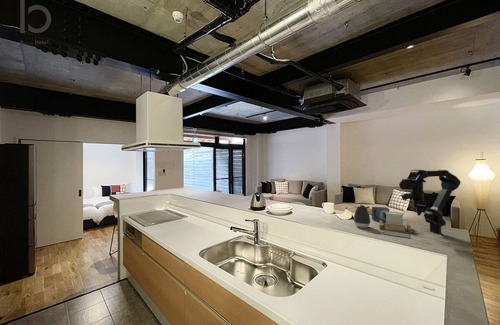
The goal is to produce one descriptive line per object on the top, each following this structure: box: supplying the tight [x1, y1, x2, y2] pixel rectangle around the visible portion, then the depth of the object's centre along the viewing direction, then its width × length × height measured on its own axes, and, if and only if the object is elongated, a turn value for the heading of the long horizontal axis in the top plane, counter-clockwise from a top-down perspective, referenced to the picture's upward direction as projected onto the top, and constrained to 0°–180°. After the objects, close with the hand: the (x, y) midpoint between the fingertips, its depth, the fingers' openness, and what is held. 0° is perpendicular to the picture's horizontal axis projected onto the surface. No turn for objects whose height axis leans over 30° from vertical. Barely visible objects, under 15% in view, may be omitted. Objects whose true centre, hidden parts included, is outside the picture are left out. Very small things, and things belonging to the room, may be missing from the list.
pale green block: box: [385, 212, 404, 225], centre depth 142 cm, size 3×9×10 cm, turn 59°
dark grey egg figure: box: [353, 204, 371, 229], centre depth 145 cm, size 10×10×15 cm
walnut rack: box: [378, 220, 413, 235], centre depth 140 cm, size 15×17×3 cm
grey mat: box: [383, 231, 411, 239], centre depth 129 cm, size 7×13×1 cm, turn 58°
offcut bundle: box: [384, 222, 406, 232], centre depth 136 cm, size 2×11×4 cm, turn 58°
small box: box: [371, 206, 390, 223], centre depth 159 cm, size 11×6×10 cm, turn 72°
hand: (417, 213), depth 132 cm, fingers open, 9 cm apart
